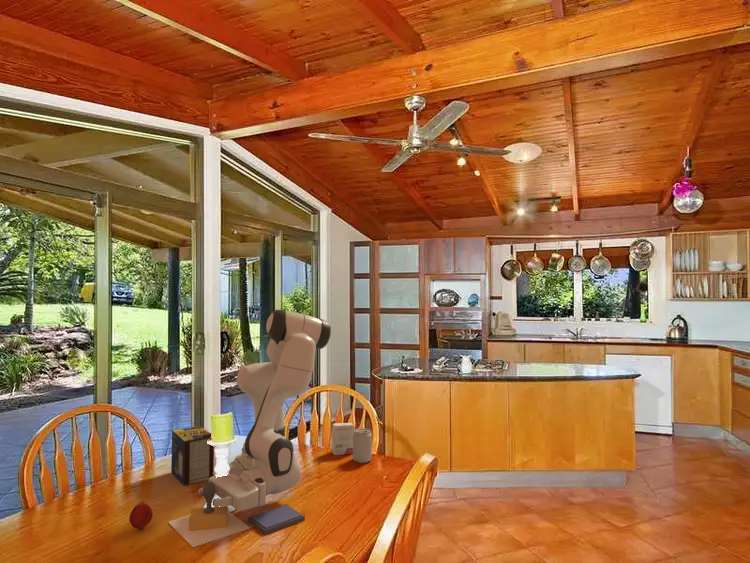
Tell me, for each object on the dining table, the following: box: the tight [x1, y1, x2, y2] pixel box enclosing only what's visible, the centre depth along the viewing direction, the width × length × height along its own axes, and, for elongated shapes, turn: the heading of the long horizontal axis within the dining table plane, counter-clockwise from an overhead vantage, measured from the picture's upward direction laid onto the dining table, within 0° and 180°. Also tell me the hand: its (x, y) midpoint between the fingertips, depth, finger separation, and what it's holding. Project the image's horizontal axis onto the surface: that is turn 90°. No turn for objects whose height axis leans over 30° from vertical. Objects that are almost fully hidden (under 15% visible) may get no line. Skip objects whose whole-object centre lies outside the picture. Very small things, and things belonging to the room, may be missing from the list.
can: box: [352, 427, 373, 464], centre depth 193 cm, size 8×8×12 cm
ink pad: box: [247, 504, 306, 536], centre depth 142 cm, size 10×13×2 cm
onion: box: [129, 500, 154, 531], centre depth 136 cm, size 6×6×8 cm
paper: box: [167, 512, 250, 548], centre depth 139 cm, size 18×16×1 cm
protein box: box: [170, 425, 215, 487], centre depth 175 cm, size 10×15×16 cm
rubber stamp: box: [189, 481, 229, 531], centre depth 139 cm, size 10×6×12 cm, turn 104°
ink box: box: [331, 422, 355, 456], centre depth 202 cm, size 9×5×12 cm, turn 104°
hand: (206, 498), depth 138 cm, fingers open, 8 cm apart
